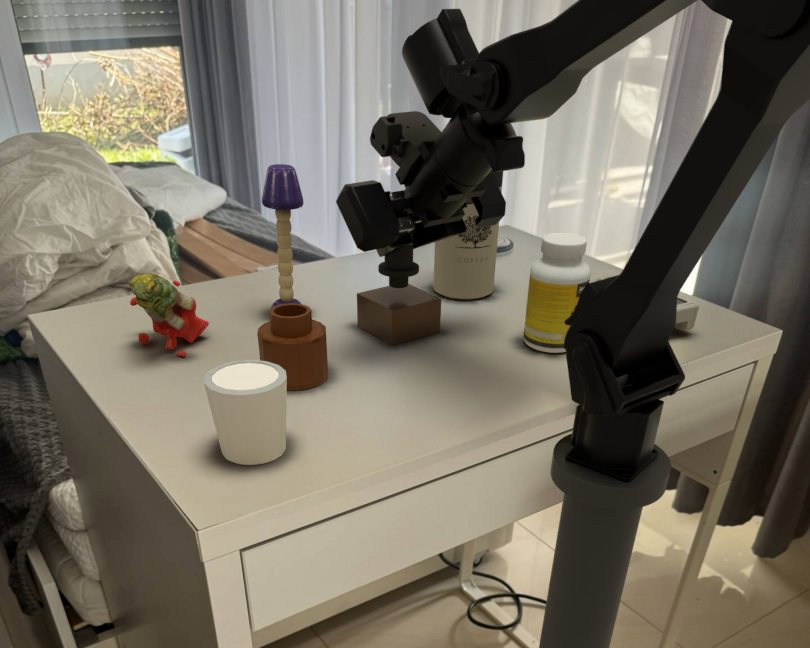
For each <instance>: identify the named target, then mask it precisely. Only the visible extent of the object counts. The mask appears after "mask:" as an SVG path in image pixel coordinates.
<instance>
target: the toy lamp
mask: <svg viewBox="0 0 810 648" xmlns="http://www.w3.org/2000/svg"><path fill="white" fill-rule="evenodd" d="M261 204H262V206H263V207H265V208H267V209H270V210H274V214H275V218H276V223H275V229H276V233H277V235H276V244H277V246H278V248H277V250H276V251H277V253H276V255H277V259H278V263H277V271H278V273H279V275H278V285H279V289H278V290H279V291H278V295H279V298H278V299H276V300H275V301H274V302H273V303H272V305H271V306H270V309H271V308H272V307H275V306H277V305H280V304H288V303H296V304H302V302H301V301H300V300H298V299H296V298H294V295H295V293H294V289H293V286H294V277H293V271H294V265H293V262H292V260H293V256H294V255H293V254H294V253H293V249H292V245H293V238H292V235H291V234H292V233H291V232H292V221H291V216H292V210H297V209H301V208H303V206H304V196H303V193H302V188H301V185H300V182H299V178H298V174H297V171H296V167H294V166H293V165H292V164H291V165H290V164H285V163H275V164H270V165H268V167H267V169H266V174H265V180H264V185H263V189H262V196H261Z"/></svg>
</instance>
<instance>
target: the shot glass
mask: <svg viewBox="0 0 810 648" xmlns="http://www.w3.org/2000/svg"><path fill="white" fill-rule="evenodd" d="M203 384H204V390H205V392H206V393H205V394H206V396H207V400H208V404H209V408H210V412H211V416H212V419H213V420H212V421H213V424H214V428H215V432H216V436H217V440H218V443H219V447H220V450H221V454H222V456H223V457H224V458H225V459H226V461H229V462H231V463H234V464H236V465H244V466H256V465H263V464H267V463H270V462H274V461H275V460H277V459H279V458H280V457H282V455H284V453H285V451H286V450H287V396H288V395H287V392H288V390H287V376H286V371H285V370H284V369H283V368H282V367H280V366H279V365H277V364H274V363H271V362H268V361H260V359H259V360H257V359H245V360H234V361H230V362H226V363H221V364H220V365H217V366H215V367H213V368H211V369H210V370H209V371H208V372H206V374H205V375H204V376H203Z"/></svg>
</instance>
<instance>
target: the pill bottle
mask: <svg viewBox="0 0 810 648" xmlns="http://www.w3.org/2000/svg"><path fill="white" fill-rule="evenodd" d="M587 244H588V240H587V238H586V237H584V236H582V235H579V234H576V233H570V232H552V233H547V234H544V235H543V236H542V239H541V246H540V252H541V253H542V257H541V258H538V259H537V260H536V261H534V262H533V264H532V265H531V267H530V270H529V271H530V272H529V279H528V289H527V299H526V307H525V308H526V310H525V316H524V317H525V320H524V327H523V341H524V342H525V344H526V345H527V346H528V347H530V348H531V349H534V350H536V351H540V352H543V353H550V354H551V353H553V354H559V353H560V354H561V353H566V350H565V349H564V339H565V335H566V332H567V330H568V329H569V327H570V325H566V324H565V323H564V322H565V320H566V319H567V318H569V317H570V316H571V315H572V313H573V312H574V310H575V308H576V306H577V303H578V300H579V297H580V294H581V292H582V290H583V289H584V287H585V286H586V284H588V283H589V281H590V274H591V269H590V266H589V265H588V264H587V262H585V261H584V260H583V256H585V254H586V251H587Z"/></svg>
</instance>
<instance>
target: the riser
mask: <svg viewBox="0 0 810 648" xmlns="http://www.w3.org/2000/svg"><path fill="white" fill-rule="evenodd" d="M356 313H357V314H356V317H357V319H356V321H357V322H356V323H357V327H358V328H360V329H362V330H364V331H366V332H367V333H368V334H371V335H373V336H374V337H376V338H378V339H379V340H382V341H383V342H385V343H387V344H389V345H391V346H395V345H399V344H402V343H405V342H409V341H412V340H416V339H419V338H420V339H421V338H424V337H428V336H431V335H433V334H437V333H440V332H441V318H442V317H441V316H442V297H439V296H437V295H435V294H433V293H431V292H428V291H426V290H424V289H422V288H419V287H417V286H415V285H412V284H410V283H408V286H407V287H405V288H393V287H390V286H389V285H386V286H382V287H378V288H374V289H369V290H365V291H360V292H357V293H356Z"/></svg>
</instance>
